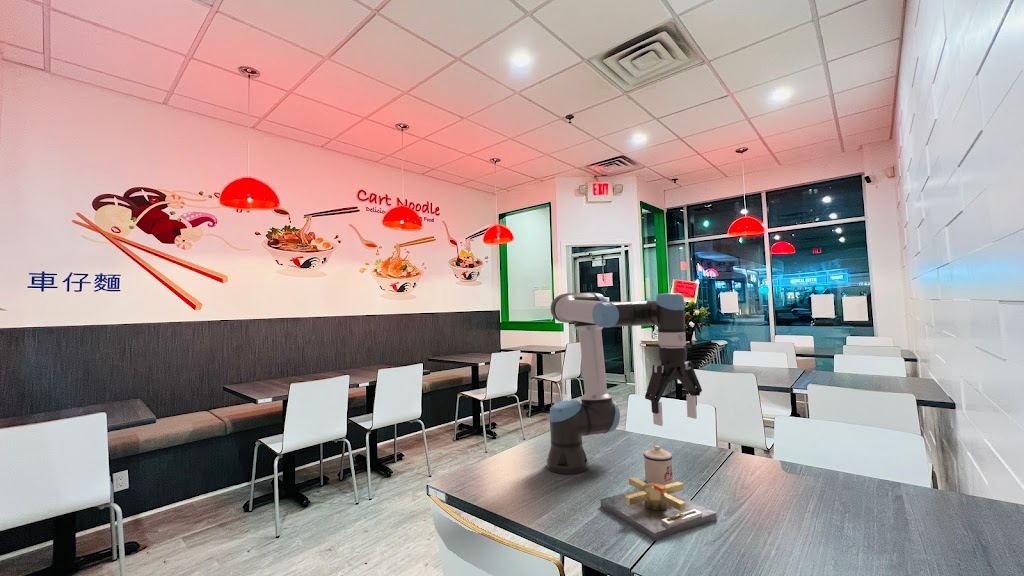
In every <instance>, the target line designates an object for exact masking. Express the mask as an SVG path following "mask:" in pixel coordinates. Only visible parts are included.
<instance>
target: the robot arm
mask: <svg viewBox="0 0 1024 576" xmlns="http://www.w3.org/2000/svg"><path fill="white" fill-rule="evenodd" d="M655 299H656V300H636V301H635V300H634V301H608V300H607V299H606V297H605V296H604V295H603V294H601V293H598V292H592V291H591V292H576V293H575V292H571V293H570V292H567V293H562V294H560V295H557V296H556V297H555V298H554V299H553V300H552V302H551V304H550V313H551V316H552V317H553V318H554V319H555V320H556V321H558V322H561V323H565V324H574V329H576V330H577V331H578V332H579V344H580V354H581V355H580V356H581V366H582V378H583V387H584V394H583V395H582V397H581V398H580V399H581V401H579V400H574V399H573V400H571V399H570V400H562V401H561V400H560V401H557V402H556V403H554V404H553V405H551V407H550V408H549V418H548V419H549V428H550V429H549V431H550V448H549V451H548V456H547V459H546V468H547V470H549V471H551V472H553V473H557V474H563V475H574V474H580V473H583V472H586V471H587V470H588V469H589V461H588V460H589V459H588V457H587V455H586V452H585V449H584V446H583V437H587V436H593V435H594V436H595V435H601V434H603V435H604V434H607V433H612V432H614V431H616V429H617V427H619V424H620V421H621V419H620V417H621V412H620V408H619V405H618V404H617V402H616V401H615V400H613V398H612V395H611V394H610V393H609V392H608V389H607V388H608V387H607V386H608V385H607V375H606V366H605V355H604V345H603V344H604V343H603V336H602V335H603V334H602V330H603V329H604V328H609V329H610V328H613V327H634V326H638V327H641V326H657V341H658V343H657V344H658V346H659V348H658V358H659V360H660V362H661V363H660V365H658V364H653V365H652V367H651V368H652V373H651V375H650V378H649V382H648V386H647V389H646V392H645V395H644V398H645V400H649V401H650V403H651V405H650V406H651V413H652V418H653V419H652V421H653V422H652V423H653V424H654V425H656V426H660V427H663V424H664V422H663V401H660V400H661V398H662V396H663V394H664V392H665V391H666V389H667V387H668V385H669V383H671V382H672V381H675V380H679V382H680V383H681V385H682V386H683V387H684V389H685V391H686V392H687V393H688V394H686V414H687V416H686V417H687V418H690V419H698V418H697V416H698V415H697V405H698V399H697V398H698V397H699V396H700V395H701V393H702V392H703V389H702V386H701V384H700V381H699V379H698V376H697V374H696V371H695V370H694V362H693V361H687V358H688V356H687V354H688V353H687V348H686V347H685V346H686V345H687V341H686V339H687V338H686V310H685V309H686V306H685V299H684V295H683V294H682V293H679V292H677V293H674V292H673V293H672V292H671V293H658V294H657V295H656V298H655ZM697 396H698V397H697Z"/></svg>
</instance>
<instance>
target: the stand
mask: <svg viewBox="0 0 1024 576" xmlns="http://www.w3.org/2000/svg"><path fill="white" fill-rule="evenodd" d="M638 492H642V491H641V490H639V489H634V490H630V491H627V492H623V493H620V494H619V493H618V494H616V495H613V496H609V497H604V498H601V499H600V507H601V508H603V510H605V511H606V512H608V513H610V514H612V515H613V516H615V517H616V518H618V519H620V520H621V521H623V522H624V523H626V524H627V525H629V526H630V527H631V528H633V529H635V530H636V531H638V532H640V533H642V534H643V535H644V536H646V537H648V538H649V539H651V540H652V541H654V542H657V541H661V540H663V539H667V538H668V537H672V536H675V535H678V534H680V533H684V532H687V531H689V530H692V529H695V528H698V527H701V526H704V525H707V524H709V523H712V522H716V521H717V512H716V511H713V510H711V509H709V508H707V507H705V506H703V505H701V504H699V503H697V502H694V501H693V500H690V499H688V498H686V497H684V496H682V495H680V494H678V493H677V492H674V493H671V494H669V495H671V496H673V497H675V498H677V499H679V500H681V501H683V502H685V508H686V510H683V511H679V510H677V509H676V508H674V507H672V506H670V505H668V504H667V508H666V509H663V510H653V509H650V508H648V507H646V506H645V501H643V502H639V503H636V504H632V505H629V504H627V503H625V496H627V495H631V494H634V493H638Z"/></svg>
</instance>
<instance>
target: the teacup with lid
mask: <svg viewBox="0 0 1024 576" xmlns="http://www.w3.org/2000/svg"><path fill="white" fill-rule="evenodd" d="M653 447H654V448H653ZM653 447H652V448H651V449H648V450H647V449H646V450H645V451H644V452H643V457H644V475H645V476H644V478H645V483H646V484H647V483H658V484H662V485H667V484H671V483H674V481H673V462H672V461H673V460H672V459H673V455H672V453H671V452H669V451H667V450H665V449H663V448H661V446H660V445H654V446H653Z"/></svg>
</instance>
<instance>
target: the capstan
mask: <svg viewBox="0 0 1024 576" xmlns="http://www.w3.org/2000/svg"><path fill="white" fill-rule="evenodd" d="M628 484H629V486H631V487H633V488H635V489H636V490H638V489H639V490H641V491H642V492H638V493H634V494H631V495H627V496H625V503H627V504H629V505H632V504H636V503H639V502H643V501H645V506H646V507H648V508H650V509H653V510H663V509H666V508H667V504H668V505H670V506H672V507H674V508H676V509H677V510H679V511H683V510H686V508H685V502H683V501H681V500H679V499H677V498H675V497H673V496H671V495H669V494H671V493H678V492H681V491H684V483H683V482H681V481H675V482H672V483H671V484H667V485H662V484H658V483H647V482H645V481H642V480H640V479H638V478H636V477H634V476H633V477H630V478H628Z"/></svg>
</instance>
